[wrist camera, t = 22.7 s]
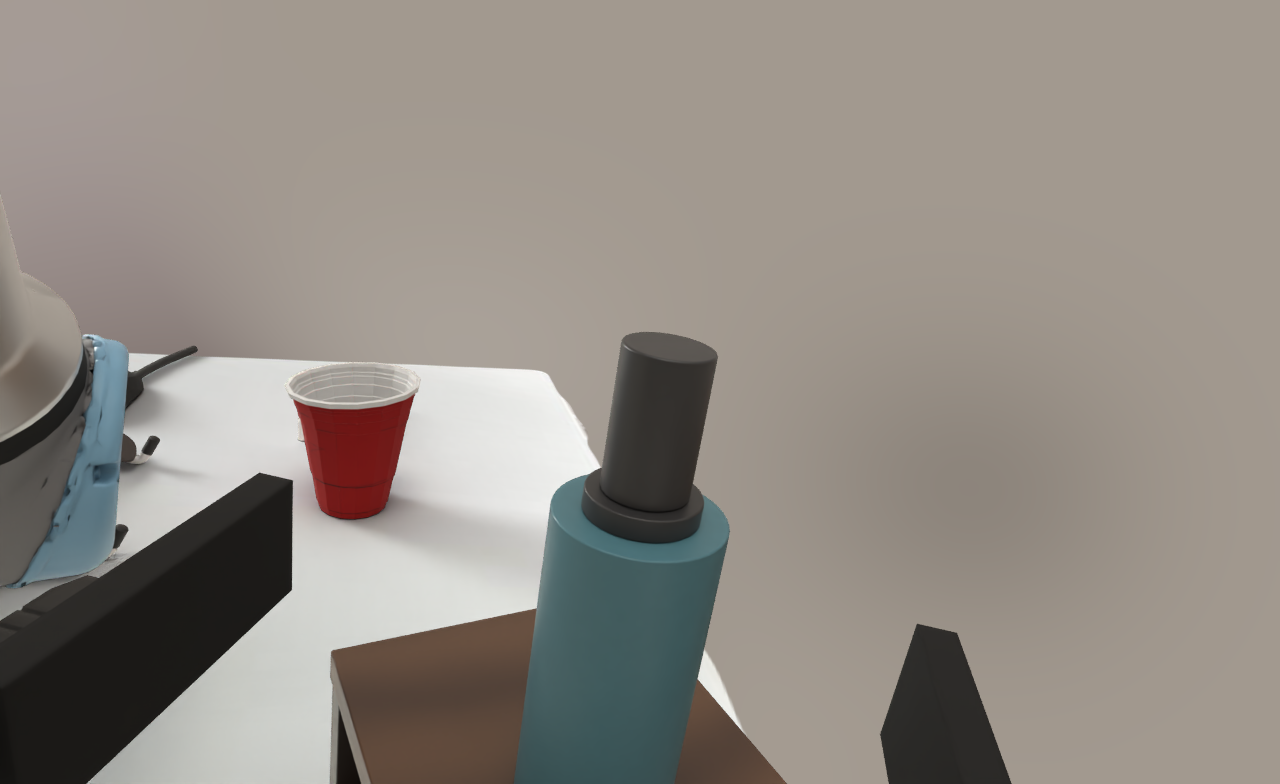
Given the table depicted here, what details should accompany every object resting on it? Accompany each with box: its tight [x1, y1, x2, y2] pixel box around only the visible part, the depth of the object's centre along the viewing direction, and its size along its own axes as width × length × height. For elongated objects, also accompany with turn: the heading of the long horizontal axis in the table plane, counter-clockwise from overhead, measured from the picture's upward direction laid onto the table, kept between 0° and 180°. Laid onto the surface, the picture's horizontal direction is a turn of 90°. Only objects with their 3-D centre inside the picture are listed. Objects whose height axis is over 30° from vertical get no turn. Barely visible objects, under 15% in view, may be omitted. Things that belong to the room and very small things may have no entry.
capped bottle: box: [514, 332, 730, 784], centre depth 27 cm, size 6×6×18 cm
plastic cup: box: [284, 362, 421, 519], centre depth 68 cm, size 11×11×12 cm
